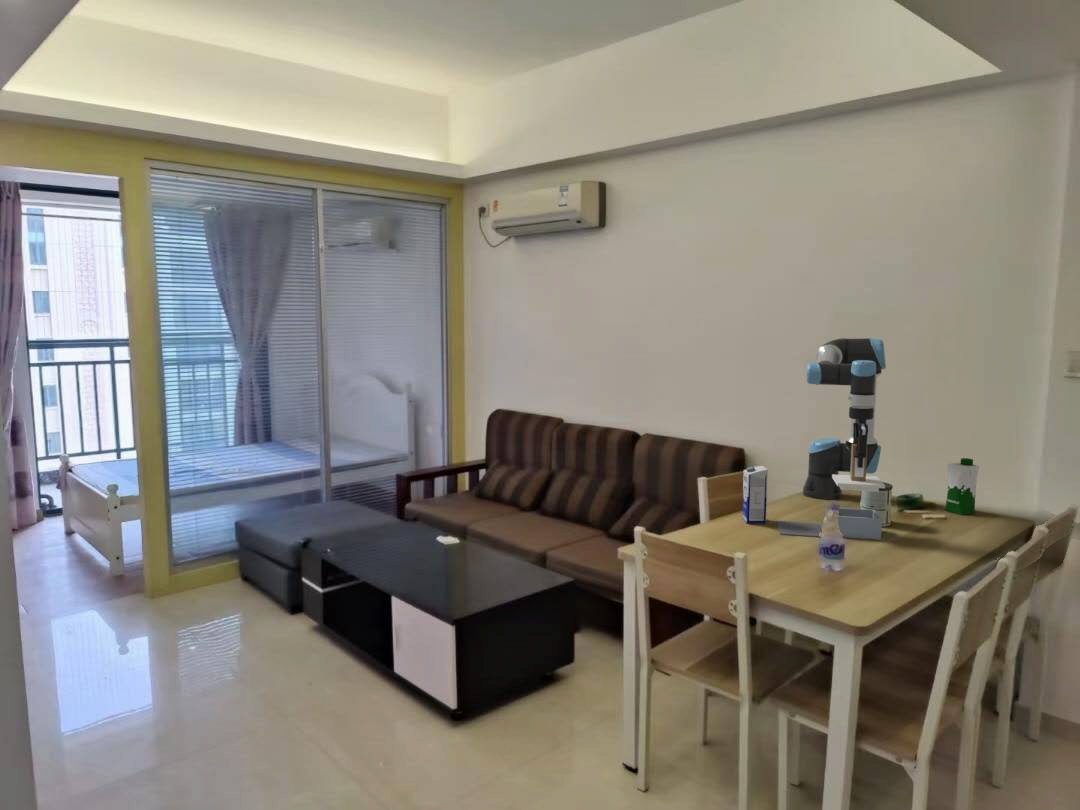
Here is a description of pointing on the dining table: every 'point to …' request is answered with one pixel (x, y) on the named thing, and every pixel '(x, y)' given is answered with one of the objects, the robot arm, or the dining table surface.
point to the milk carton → (754, 495)
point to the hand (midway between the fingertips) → (857, 475)
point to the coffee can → (878, 502)
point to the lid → (858, 482)
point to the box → (859, 523)
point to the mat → (798, 528)
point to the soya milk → (961, 487)
